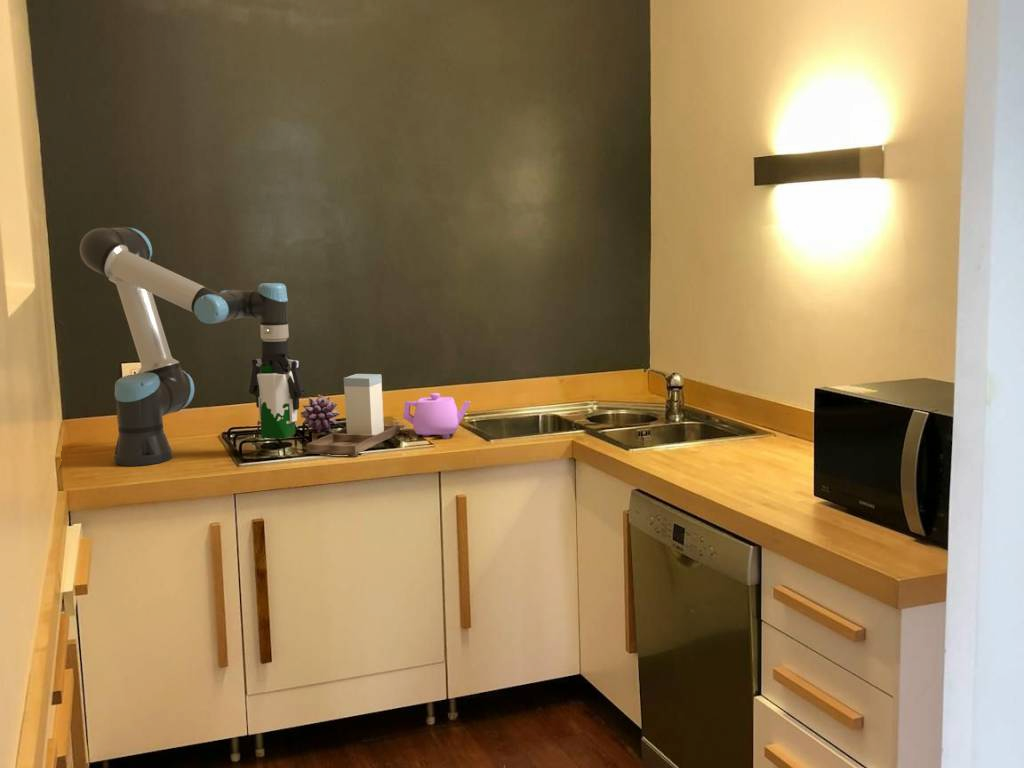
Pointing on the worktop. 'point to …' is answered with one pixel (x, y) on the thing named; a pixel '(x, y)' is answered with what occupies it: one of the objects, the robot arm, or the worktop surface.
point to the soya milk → (275, 404)
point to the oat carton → (364, 404)
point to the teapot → (435, 415)
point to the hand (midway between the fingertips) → (278, 420)
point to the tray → (349, 442)
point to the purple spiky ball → (319, 414)
